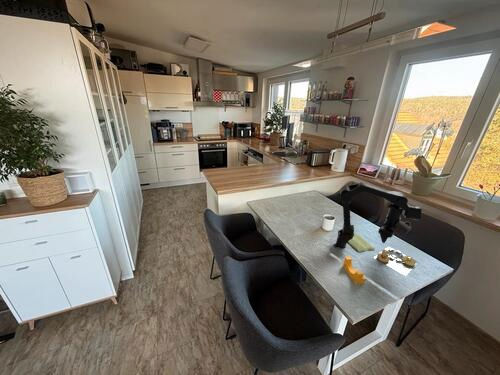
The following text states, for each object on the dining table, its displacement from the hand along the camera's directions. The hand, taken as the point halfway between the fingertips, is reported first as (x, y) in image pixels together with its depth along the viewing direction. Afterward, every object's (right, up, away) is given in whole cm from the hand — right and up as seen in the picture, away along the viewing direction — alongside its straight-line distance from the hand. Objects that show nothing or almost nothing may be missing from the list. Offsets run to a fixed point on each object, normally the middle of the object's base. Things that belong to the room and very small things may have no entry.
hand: (385, 239), depth 113 cm
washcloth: (-9, -7, +15) cm, 19 cm away
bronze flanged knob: (-1, -12, +1) cm, 12 cm away
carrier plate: (+6, -13, +1) cm, 15 cm away
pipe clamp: (-23, -17, -8) cm, 29 cm away
